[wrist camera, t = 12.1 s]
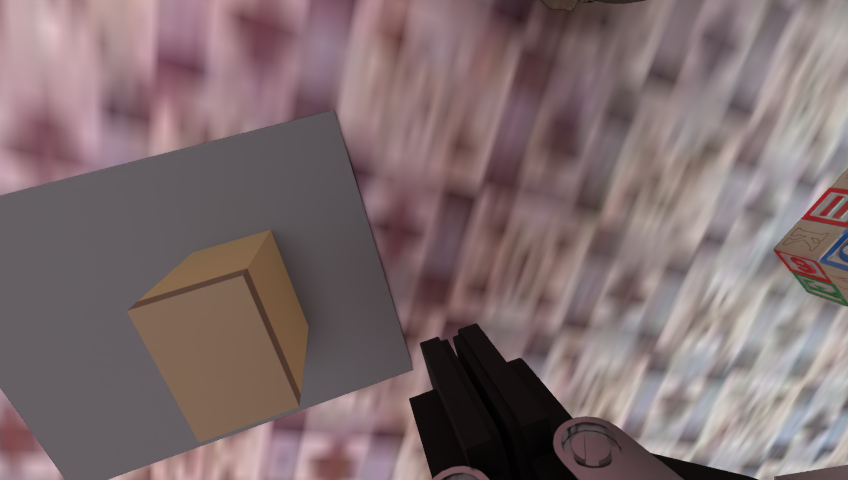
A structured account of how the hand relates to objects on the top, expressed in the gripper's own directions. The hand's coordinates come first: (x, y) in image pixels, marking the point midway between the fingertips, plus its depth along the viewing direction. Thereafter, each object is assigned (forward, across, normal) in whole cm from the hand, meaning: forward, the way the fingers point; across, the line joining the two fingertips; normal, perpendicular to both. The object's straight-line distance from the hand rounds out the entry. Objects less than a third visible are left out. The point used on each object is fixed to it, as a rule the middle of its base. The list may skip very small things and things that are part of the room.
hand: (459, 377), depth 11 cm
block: (+12, +8, 0) cm, 15 cm away
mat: (+13, +11, 0) cm, 17 cm away
